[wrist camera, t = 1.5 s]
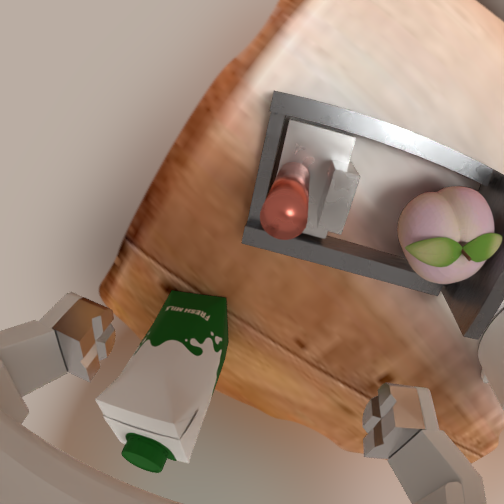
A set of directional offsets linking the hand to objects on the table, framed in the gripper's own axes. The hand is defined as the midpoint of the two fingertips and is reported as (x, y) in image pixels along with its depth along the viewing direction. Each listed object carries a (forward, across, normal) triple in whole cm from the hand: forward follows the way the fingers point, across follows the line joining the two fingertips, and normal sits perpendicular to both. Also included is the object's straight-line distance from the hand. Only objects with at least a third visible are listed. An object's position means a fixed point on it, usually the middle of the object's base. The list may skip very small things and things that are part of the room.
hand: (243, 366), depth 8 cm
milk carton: (+24, +6, +20) cm, 32 cm away
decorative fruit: (+23, -14, 0) cm, 28 cm away
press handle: (+23, -2, 0) cm, 23 cm away
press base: (+23, -9, 0) cm, 25 cm away
